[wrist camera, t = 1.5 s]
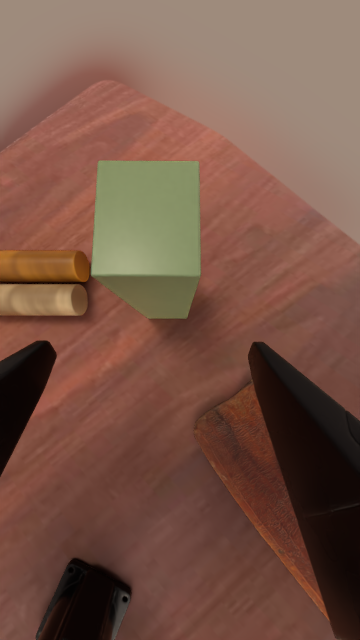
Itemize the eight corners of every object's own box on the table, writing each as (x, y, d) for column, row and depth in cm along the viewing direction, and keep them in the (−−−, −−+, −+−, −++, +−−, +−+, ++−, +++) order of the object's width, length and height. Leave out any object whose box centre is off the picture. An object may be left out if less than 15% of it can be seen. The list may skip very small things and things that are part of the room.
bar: (186, 318, 20) (201, 276, 7) (147, 318, 20) (89, 276, 7) (186, 273, 21) (199, 160, 8) (148, 273, 21) (97, 159, 8)
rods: (87, 317, 20) (69, 312, 17) (-13, 317, 20) (-49, 312, 17) (90, 259, 21) (75, 244, 18) (-5, 258, 21) (-38, 243, 18)
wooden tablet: (185, 425, 19) (186, 433, 17) (259, 367, 19) (267, 369, 18) (364, 680, 16) (385, 719, 14) (442, 601, 17) (471, 629, 15)
